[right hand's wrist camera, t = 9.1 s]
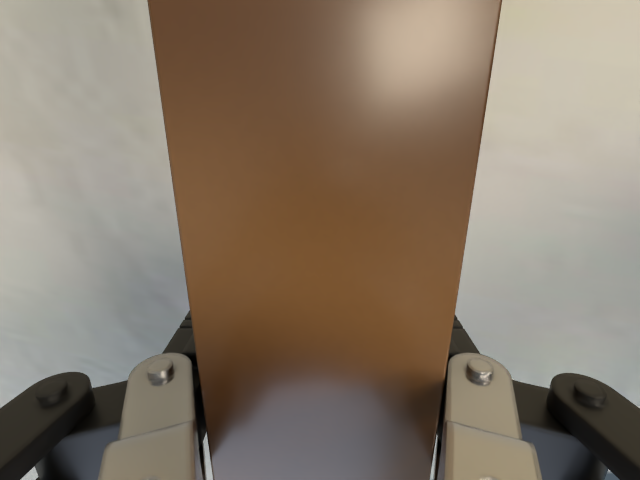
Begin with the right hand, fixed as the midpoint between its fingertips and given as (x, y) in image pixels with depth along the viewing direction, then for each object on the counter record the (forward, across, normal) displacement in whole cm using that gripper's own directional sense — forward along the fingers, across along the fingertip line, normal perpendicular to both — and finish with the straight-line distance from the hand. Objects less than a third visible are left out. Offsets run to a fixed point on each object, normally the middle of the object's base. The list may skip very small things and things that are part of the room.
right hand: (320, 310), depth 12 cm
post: (+3, 0, -31) cm, 31 cm away
